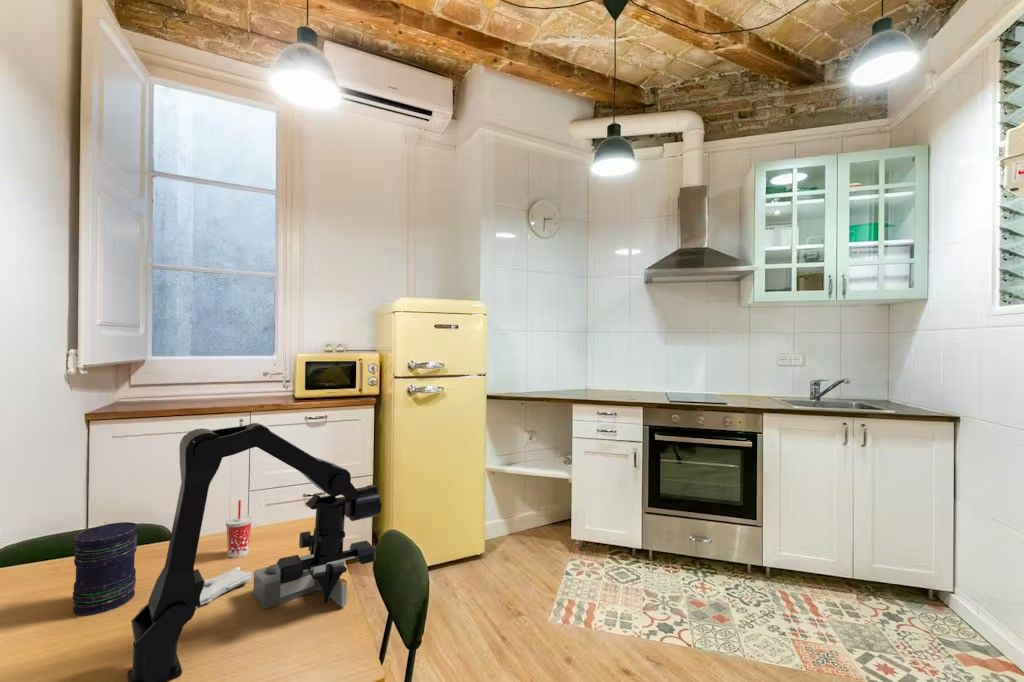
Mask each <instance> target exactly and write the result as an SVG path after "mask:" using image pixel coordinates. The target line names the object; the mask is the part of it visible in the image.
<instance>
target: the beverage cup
mask: <svg viewBox="0 0 1024 682" xmlns="http://www.w3.org/2000/svg"><path fill="white" fill-rule="evenodd" d="M241 507H242V500H240V499H239V500H238V515H237V516H233V517H231V518H230V517H229V518H228V519H226V520H225V521H224V522H225V527H226V540H227V557H228V556H229V557H238V558H240V557H239V556H242V557H244V556H246V555H247V553H248V554H249V552H248V551H250V550H249V548H250V539H251V538H250V537H251V530H252V529H251V528H252V522H253V518H254V517H253V516H252V515H249V514H248V515H241ZM245 554H246V555H245ZM243 555H244V556H243ZM229 557H228V558H229Z"/></svg>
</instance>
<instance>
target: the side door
mask: <svg viewBox="0 0 1024 682" xmlns="http://www.w3.org/2000/svg"><path fill="white" fill-rule="evenodd" d="M347 585H348V581H347V580H346V579H345V578H339V579H338V581H337V583H336V584H335V586H334V588H333V590H332V592H331V594H330V596H329V598H330V599H332V600H333V601H334V602H335V603H336V604H338V606H340V607H341V608H342V607H345V606H347V592H348V591H347V588H348V586H347ZM319 590H321V587H320V584H319Z"/></svg>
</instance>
